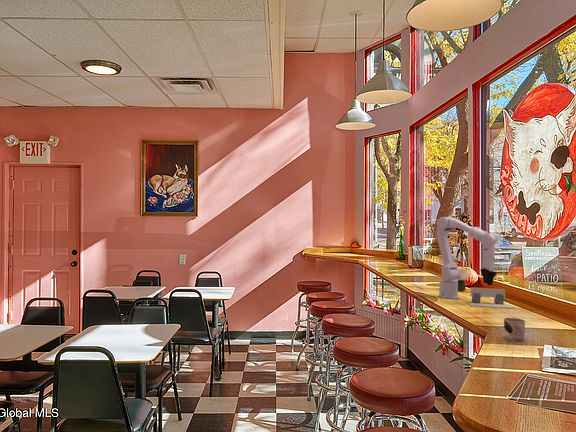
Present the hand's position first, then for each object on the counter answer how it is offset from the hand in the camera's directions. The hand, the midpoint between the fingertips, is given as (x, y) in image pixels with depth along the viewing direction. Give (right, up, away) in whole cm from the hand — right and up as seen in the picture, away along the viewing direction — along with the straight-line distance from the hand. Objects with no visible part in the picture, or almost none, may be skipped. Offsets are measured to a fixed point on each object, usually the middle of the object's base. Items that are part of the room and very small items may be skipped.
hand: (487, 284), depth 238 cm
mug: (-21, -9, -73) cm, 77 cm away
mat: (-2, -10, -8) cm, 13 cm away
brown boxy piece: (-6, -10, +1) cm, 11 cm away
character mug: (+2, -11, +44) cm, 45 cm away
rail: (0, -6, 0) cm, 6 cm away
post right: (+5, -10, -1) cm, 11 cm away
